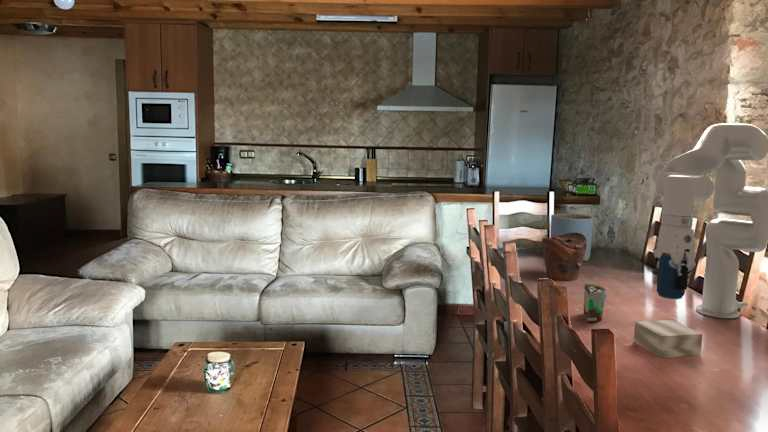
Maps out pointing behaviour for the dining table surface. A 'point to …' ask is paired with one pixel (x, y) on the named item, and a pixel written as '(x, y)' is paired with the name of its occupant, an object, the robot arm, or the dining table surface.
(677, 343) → the ash block
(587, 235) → the planter
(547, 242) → the brown tapered round vessel
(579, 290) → the dining table surface
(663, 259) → the soda can
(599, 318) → the food container
